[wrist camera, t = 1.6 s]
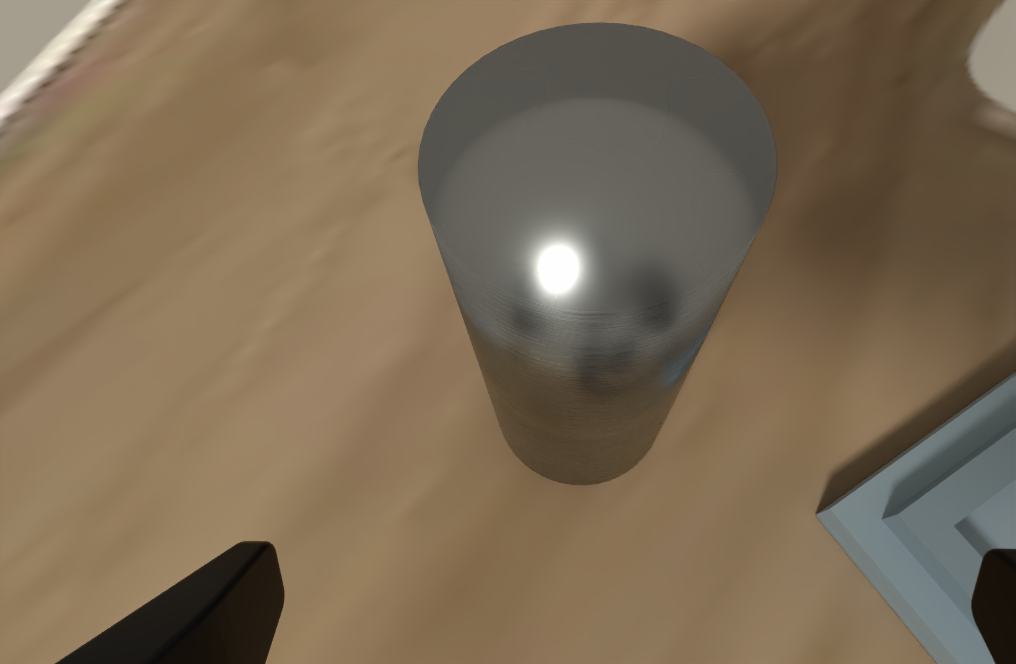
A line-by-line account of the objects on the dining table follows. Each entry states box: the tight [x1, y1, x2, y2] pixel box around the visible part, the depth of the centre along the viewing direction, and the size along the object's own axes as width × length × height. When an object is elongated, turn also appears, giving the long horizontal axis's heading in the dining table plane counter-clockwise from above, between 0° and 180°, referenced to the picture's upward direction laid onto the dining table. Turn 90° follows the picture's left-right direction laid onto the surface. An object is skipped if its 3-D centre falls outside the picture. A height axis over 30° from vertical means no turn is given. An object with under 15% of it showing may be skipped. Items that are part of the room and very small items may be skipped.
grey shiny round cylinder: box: [418, 23, 777, 485], centre depth 16 cm, size 6×6×13 cm
